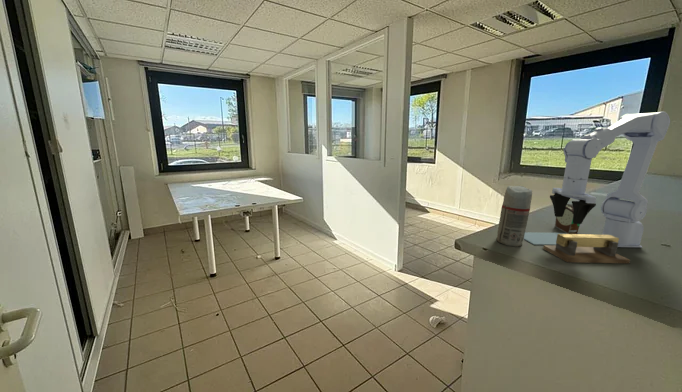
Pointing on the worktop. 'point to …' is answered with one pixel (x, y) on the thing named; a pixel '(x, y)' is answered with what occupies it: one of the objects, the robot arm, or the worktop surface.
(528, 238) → the rubber mat
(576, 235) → the brass rail
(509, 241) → the spray can
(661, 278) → the worktop surface
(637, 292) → the worktop surface
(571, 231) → the food container
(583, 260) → the hook stand
